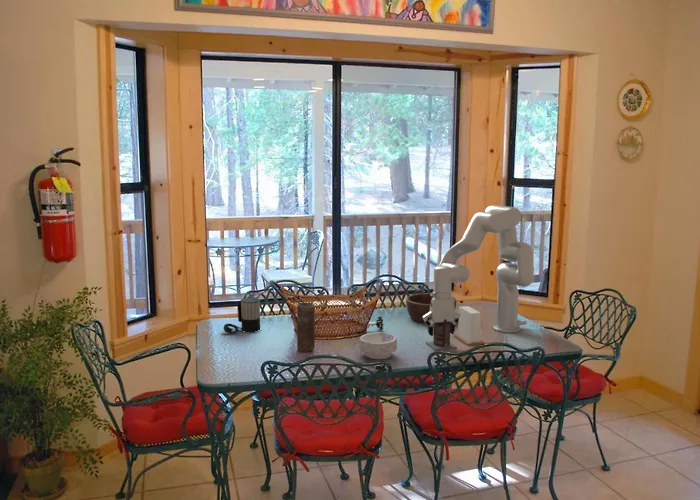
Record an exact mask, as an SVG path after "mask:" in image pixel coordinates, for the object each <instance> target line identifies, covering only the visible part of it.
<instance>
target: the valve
mask: <svg viewBox="0 0 700 500" xmlns="http://www.w3.org/2000/svg"><path fill="white" fill-rule="evenodd" d="M383 322H384V319H383V317H382V316H378V317H377V319H376V321H371V322H370V321H369V323H368V326H367V327H366V328H370V326H371V327H373V326H376V327H377V328H378V330H379V331H382V330H384V325H385V324H384V323H383Z"/></svg>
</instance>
